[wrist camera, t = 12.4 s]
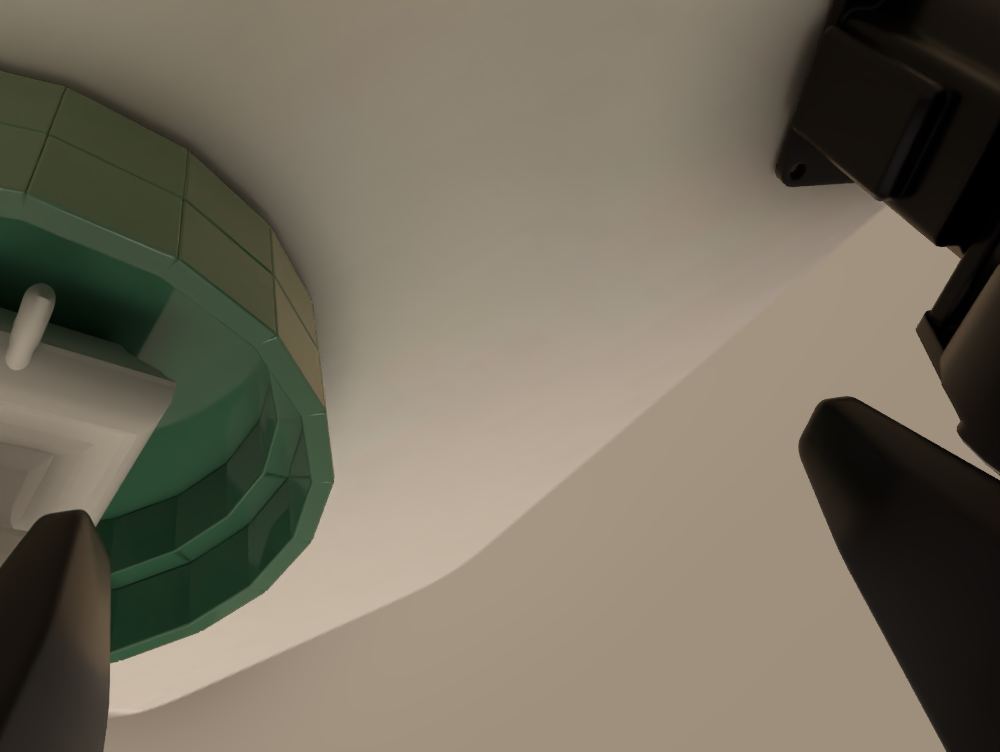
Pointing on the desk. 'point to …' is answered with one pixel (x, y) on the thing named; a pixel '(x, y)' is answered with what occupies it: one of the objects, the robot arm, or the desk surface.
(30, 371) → the stamp
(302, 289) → the green bowl
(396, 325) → the desk surface
